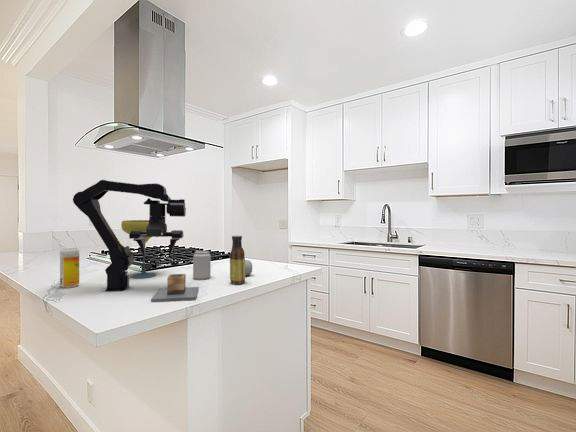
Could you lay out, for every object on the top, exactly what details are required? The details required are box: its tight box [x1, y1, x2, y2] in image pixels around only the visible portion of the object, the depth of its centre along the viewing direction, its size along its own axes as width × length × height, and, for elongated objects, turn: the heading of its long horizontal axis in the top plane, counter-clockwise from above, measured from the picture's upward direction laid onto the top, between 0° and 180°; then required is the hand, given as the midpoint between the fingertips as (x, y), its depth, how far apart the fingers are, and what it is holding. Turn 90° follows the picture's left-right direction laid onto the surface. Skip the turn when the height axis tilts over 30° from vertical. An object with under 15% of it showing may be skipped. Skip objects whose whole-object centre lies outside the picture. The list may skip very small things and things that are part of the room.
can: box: [192, 250, 212, 281], centre depth 136 cm, size 8×8×12 cm
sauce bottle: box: [229, 234, 246, 285], centre depth 127 cm, size 6×6×20 cm
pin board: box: [150, 286, 200, 303], centre depth 108 cm, size 14×14×6 cm
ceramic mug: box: [245, 259, 253, 277], centre depth 144 cm, size 11×8×8 cm
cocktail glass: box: [121, 219, 158, 279], centre depth 139 cm, size 18×18×25 cm
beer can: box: [59, 246, 80, 289], centre depth 119 cm, size 6×6×15 cm
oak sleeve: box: [166, 273, 187, 295], centre depth 108 cm, size 5×5×6 cm
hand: (157, 256), depth 119 cm, fingers open, 9 cm apart
